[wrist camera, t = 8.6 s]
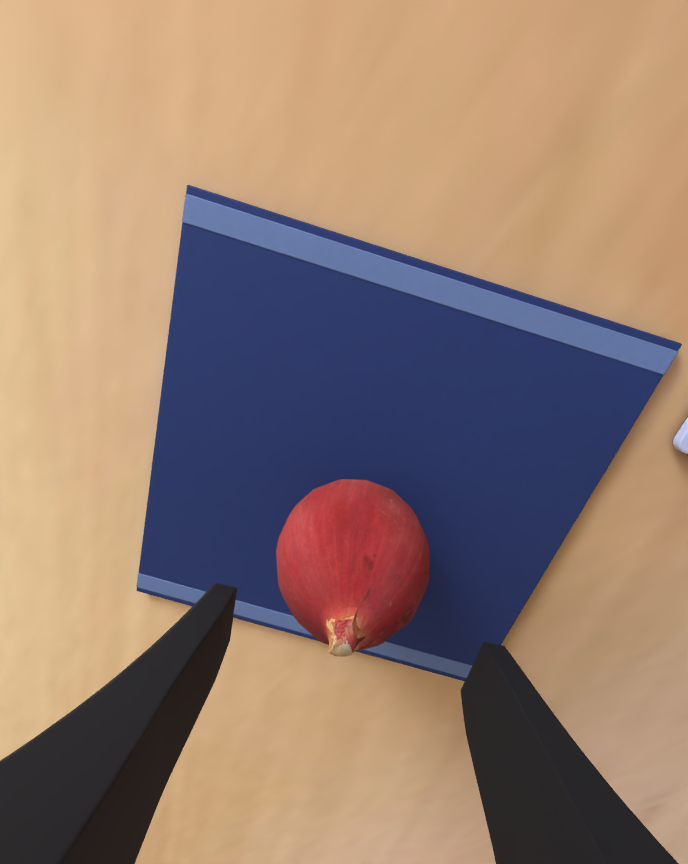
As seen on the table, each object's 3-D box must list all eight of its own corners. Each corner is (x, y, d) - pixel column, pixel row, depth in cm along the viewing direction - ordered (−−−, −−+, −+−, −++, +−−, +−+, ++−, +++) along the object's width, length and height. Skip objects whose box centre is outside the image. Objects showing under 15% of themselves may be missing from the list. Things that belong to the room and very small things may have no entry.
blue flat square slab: (674, 342, 15) (683, 343, 14) (474, 678, 21) (477, 685, 21) (191, 187, 14) (186, 183, 14) (140, 585, 21) (135, 591, 20)
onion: (441, 508, 17) (499, 665, 10) (355, 575, 19) (348, 754, 11) (356, 425, 16) (346, 529, 9) (271, 503, 18) (201, 649, 10)
